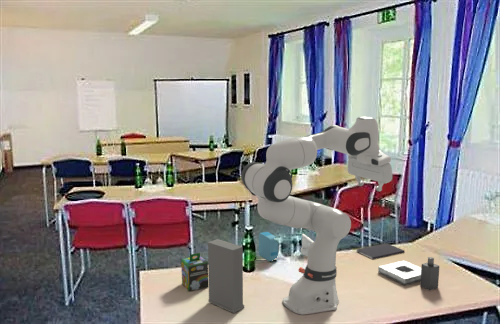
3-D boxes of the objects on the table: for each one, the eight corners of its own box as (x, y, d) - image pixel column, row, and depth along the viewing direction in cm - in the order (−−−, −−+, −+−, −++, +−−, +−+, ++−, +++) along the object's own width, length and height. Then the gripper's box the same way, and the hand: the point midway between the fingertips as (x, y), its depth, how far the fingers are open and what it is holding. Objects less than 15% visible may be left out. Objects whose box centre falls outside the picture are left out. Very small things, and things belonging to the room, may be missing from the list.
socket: (404, 285, 201) (405, 279, 201) (378, 272, 215) (378, 266, 215) (430, 278, 209) (431, 272, 208) (403, 266, 223) (404, 260, 222)
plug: (429, 290, 196) (431, 261, 194) (420, 286, 201) (422, 257, 199) (437, 288, 199) (439, 259, 197) (428, 283, 203) (430, 255, 201)
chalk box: (200, 279, 208) (200, 247, 206) (209, 287, 200) (208, 254, 198) (181, 283, 204) (180, 251, 201) (188, 291, 196) (188, 258, 193)
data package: (278, 261, 230) (278, 237, 228) (270, 262, 228) (270, 239, 226) (266, 253, 240) (266, 230, 238) (258, 254, 238) (258, 232, 236)
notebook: (372, 260, 232) (404, 253, 241) (372, 257, 231) (404, 250, 241) (355, 252, 243) (386, 245, 252) (355, 249, 243) (386, 243, 252)
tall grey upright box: (244, 308, 182) (244, 246, 177) (233, 313, 177) (233, 250, 173) (219, 297, 191) (218, 238, 187) (208, 302, 186) (207, 242, 182)
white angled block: (295, 246, 243) (303, 233, 240) (310, 258, 240) (319, 245, 237) (292, 248, 240) (300, 235, 237) (308, 260, 237) (316, 247, 234)
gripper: (343, 153, 193) (345, 184, 198) (383, 163, 178) (385, 196, 182) (353, 149, 197) (355, 180, 201) (394, 158, 181) (395, 191, 185)
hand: (369, 188), depth 191 cm, fingers open, 8 cm apart
